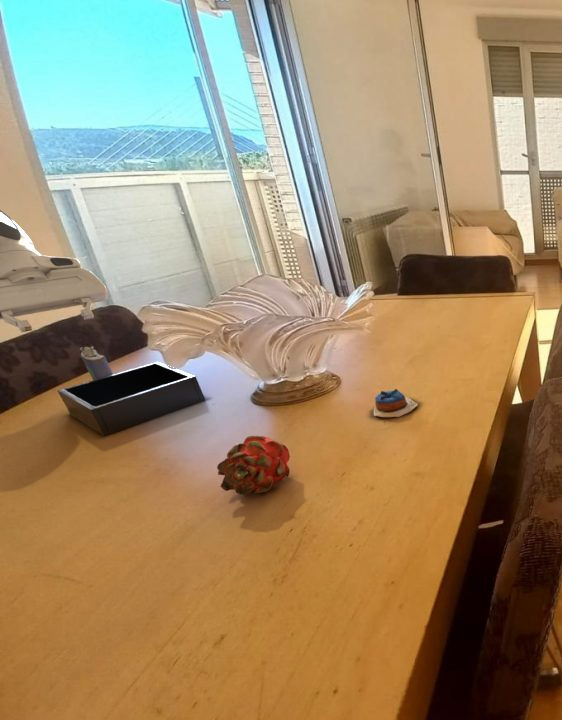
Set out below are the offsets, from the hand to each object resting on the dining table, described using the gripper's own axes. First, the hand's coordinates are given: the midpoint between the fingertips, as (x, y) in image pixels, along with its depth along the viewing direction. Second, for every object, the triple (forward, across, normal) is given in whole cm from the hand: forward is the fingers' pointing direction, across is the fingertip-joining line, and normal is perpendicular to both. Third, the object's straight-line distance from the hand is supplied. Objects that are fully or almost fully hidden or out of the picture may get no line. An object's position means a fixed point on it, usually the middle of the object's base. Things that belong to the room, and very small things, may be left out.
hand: (59, 323), depth 102 cm
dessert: (+63, +24, -44) cm, 80 cm away
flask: (+18, 0, +3) cm, 18 cm away
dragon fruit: (+64, -1, -45) cm, 78 cm away
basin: (+29, +1, -8) cm, 30 cm away
